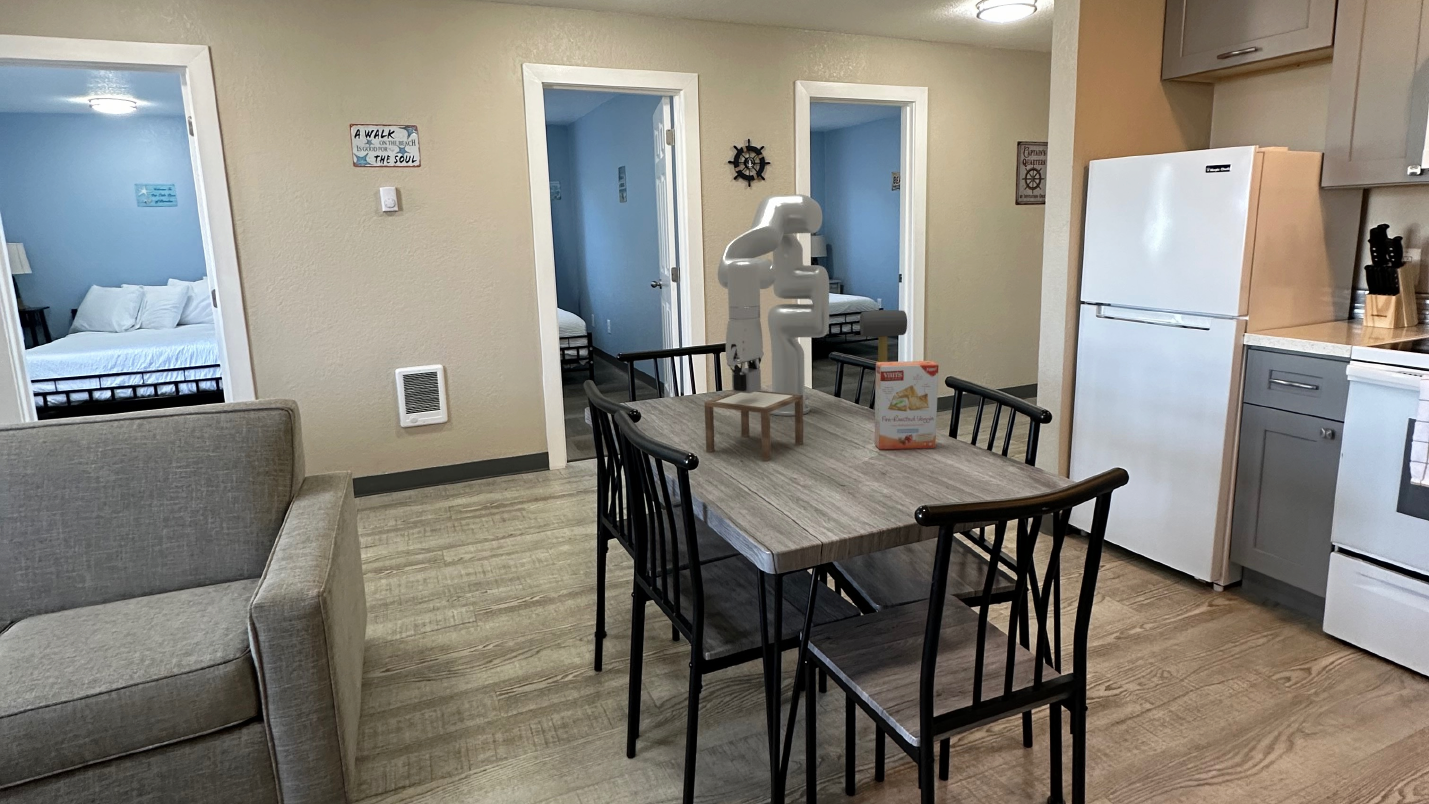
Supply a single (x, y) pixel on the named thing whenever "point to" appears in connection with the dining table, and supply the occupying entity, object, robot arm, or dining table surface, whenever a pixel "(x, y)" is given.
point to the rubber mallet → (883, 327)
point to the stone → (750, 380)
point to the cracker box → (906, 404)
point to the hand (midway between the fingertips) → (746, 387)
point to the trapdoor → (755, 399)
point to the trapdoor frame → (745, 419)
